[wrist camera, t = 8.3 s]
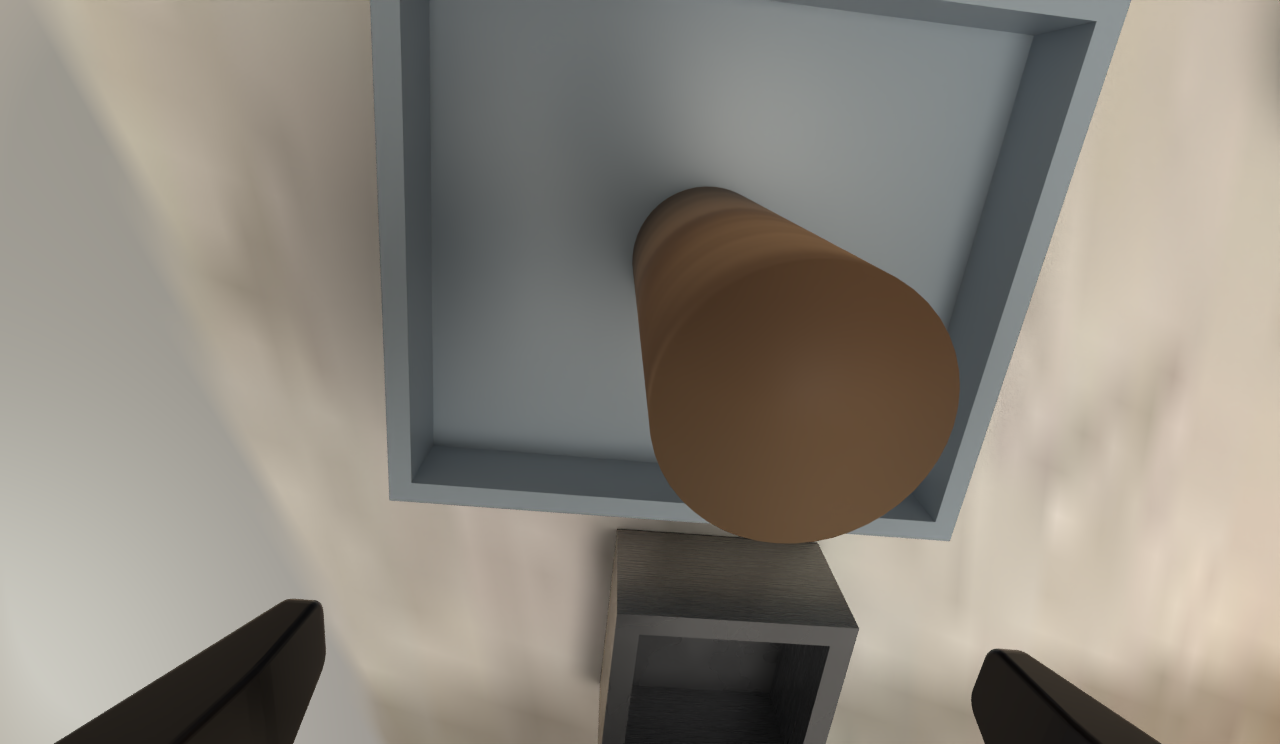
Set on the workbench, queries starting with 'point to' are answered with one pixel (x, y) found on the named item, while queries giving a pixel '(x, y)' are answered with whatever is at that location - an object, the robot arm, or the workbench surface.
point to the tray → (683, 159)
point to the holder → (721, 642)
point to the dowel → (784, 371)
